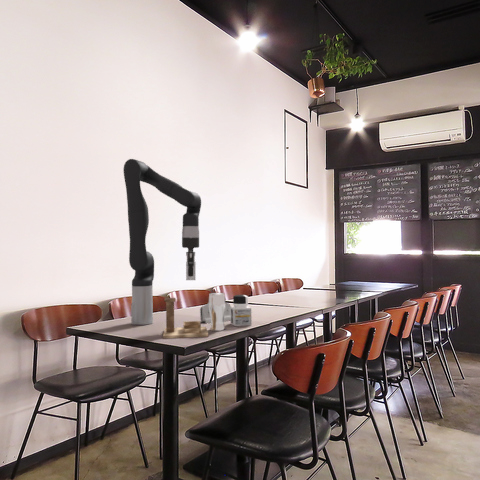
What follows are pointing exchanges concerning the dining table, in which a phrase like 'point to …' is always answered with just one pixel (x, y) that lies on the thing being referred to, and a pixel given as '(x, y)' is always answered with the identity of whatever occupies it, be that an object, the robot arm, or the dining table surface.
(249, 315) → the container
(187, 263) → the brushed grey block
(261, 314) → the dining table surface
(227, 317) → the card swipe reader
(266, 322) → the dining table surface
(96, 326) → the dining table surface
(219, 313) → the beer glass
